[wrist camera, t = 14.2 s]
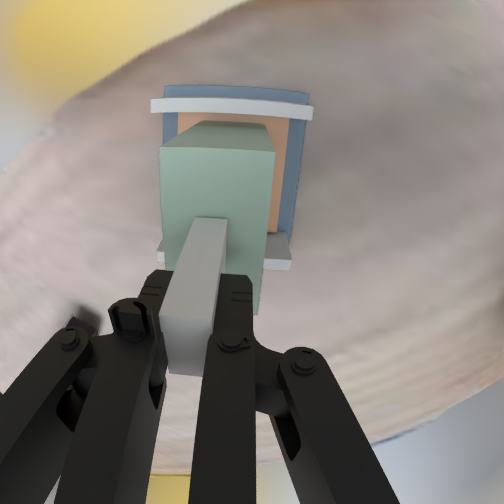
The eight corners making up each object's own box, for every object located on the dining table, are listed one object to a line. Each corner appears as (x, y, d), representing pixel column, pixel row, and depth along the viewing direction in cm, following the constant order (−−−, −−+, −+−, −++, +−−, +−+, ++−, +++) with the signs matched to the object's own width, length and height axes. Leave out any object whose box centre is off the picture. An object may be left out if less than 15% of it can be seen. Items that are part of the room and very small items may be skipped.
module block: (264, 123, 23) (275, 152, 12) (255, 223, 27) (257, 315, 17) (202, 120, 22) (159, 147, 12) (199, 220, 27) (169, 308, 17)
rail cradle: (306, 93, 23) (322, 93, 18) (287, 245, 30) (294, 280, 25) (167, 86, 22) (144, 85, 17) (168, 238, 30) (152, 271, 25)
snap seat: (288, 117, 23) (289, 117, 22) (275, 228, 28) (276, 232, 28) (180, 111, 23) (178, 112, 22) (180, 222, 28) (178, 226, 27)
